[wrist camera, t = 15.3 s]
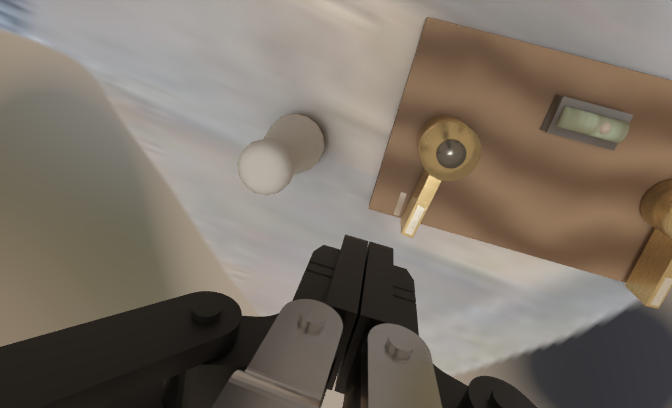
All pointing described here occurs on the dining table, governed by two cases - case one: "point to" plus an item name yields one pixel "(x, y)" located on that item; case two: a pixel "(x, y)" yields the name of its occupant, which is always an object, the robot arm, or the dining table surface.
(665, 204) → the dial
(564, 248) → the levelling plate
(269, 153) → the salt shaker
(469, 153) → the dial
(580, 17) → the dining table surface
